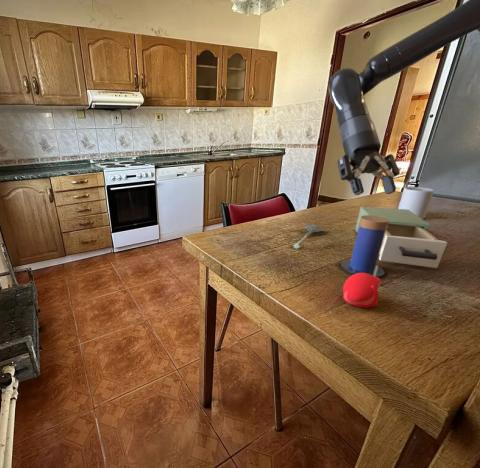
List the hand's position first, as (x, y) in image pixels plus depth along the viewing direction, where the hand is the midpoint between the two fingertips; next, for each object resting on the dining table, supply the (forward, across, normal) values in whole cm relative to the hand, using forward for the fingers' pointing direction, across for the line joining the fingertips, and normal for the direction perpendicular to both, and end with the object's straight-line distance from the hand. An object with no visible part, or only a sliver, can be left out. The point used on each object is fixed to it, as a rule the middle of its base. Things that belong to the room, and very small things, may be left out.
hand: (375, 193), depth 65 cm
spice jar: (+18, -4, +6) cm, 19 cm away
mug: (-4, +49, +35) cm, 60 cm away
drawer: (+15, +10, +8) cm, 20 cm away
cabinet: (+8, +17, +18) cm, 27 cm away
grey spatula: (+6, -5, +23) cm, 24 cm away
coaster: (+18, -4, +6) cm, 20 cm away
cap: (+26, -15, -4) cm, 30 cm away
